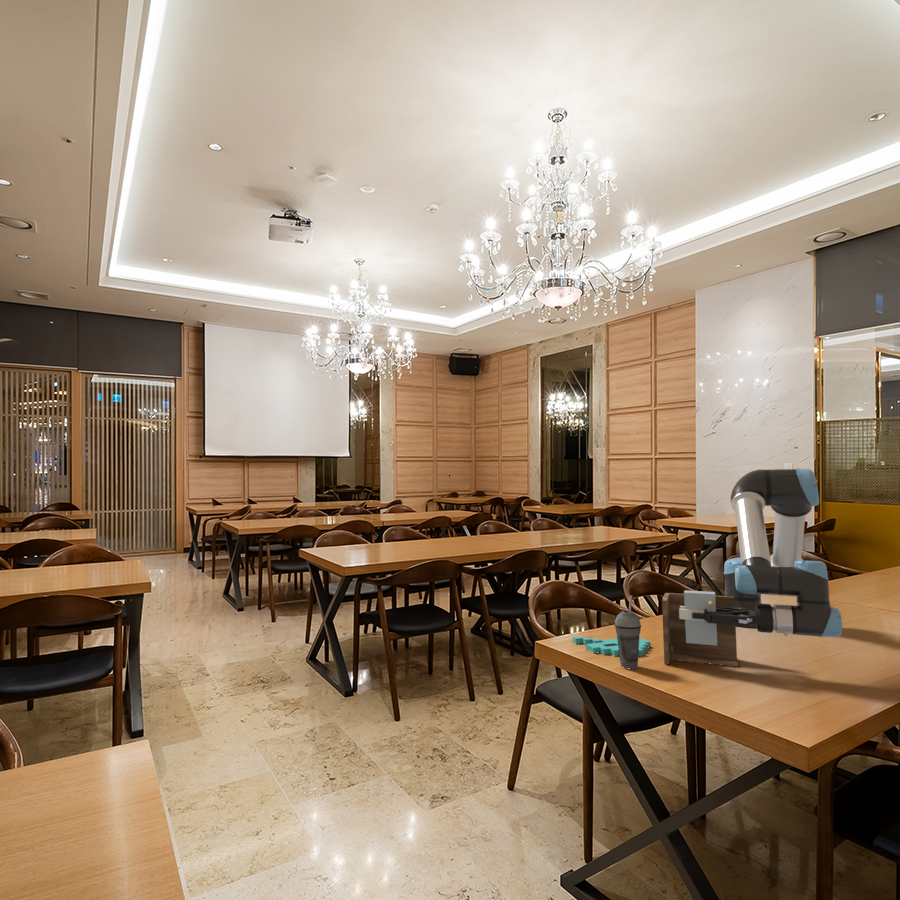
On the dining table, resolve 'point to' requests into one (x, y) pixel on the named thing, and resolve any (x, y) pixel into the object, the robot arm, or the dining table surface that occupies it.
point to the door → (696, 628)
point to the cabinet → (696, 652)
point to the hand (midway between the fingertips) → (679, 612)
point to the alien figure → (609, 645)
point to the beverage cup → (628, 637)
